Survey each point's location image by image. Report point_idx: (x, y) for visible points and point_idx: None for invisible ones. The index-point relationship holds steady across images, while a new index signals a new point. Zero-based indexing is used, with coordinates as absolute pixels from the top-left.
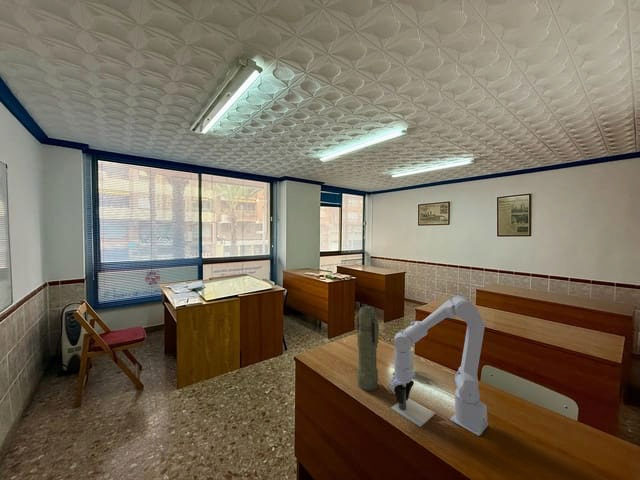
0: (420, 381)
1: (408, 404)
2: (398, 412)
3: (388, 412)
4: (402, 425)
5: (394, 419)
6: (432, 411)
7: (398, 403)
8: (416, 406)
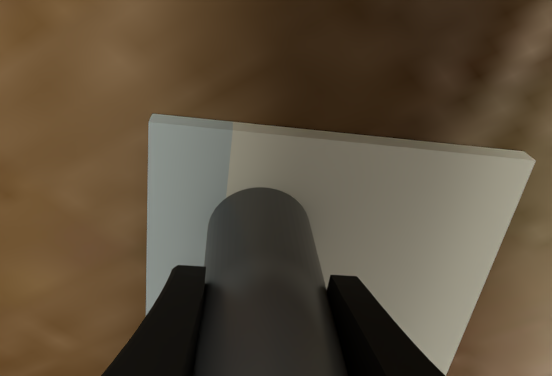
0: None
1: (380, 253)
2: (148, 228)
3: (50, 123)
4: (11, 332)
5: (9, 239)
6: None
7: (233, 222)
8: (402, 324)
